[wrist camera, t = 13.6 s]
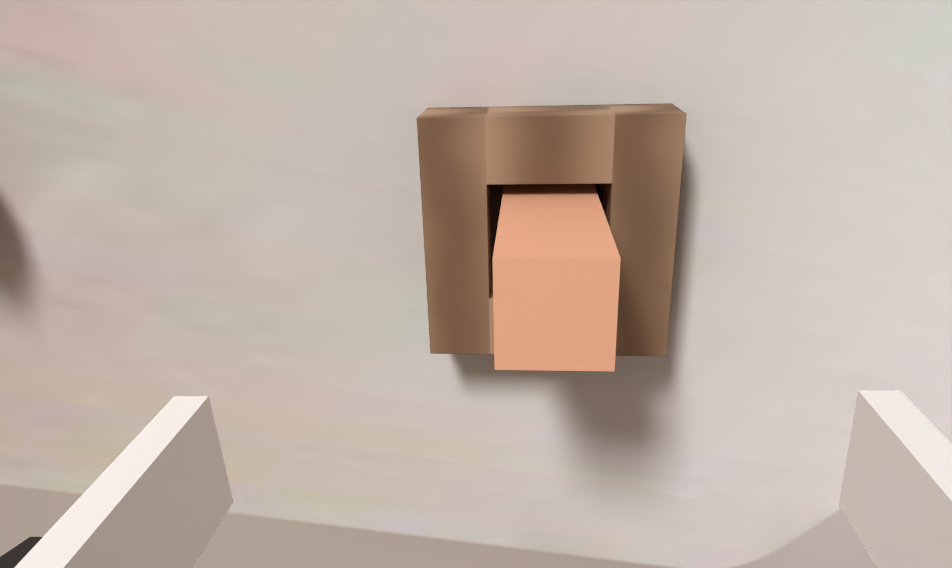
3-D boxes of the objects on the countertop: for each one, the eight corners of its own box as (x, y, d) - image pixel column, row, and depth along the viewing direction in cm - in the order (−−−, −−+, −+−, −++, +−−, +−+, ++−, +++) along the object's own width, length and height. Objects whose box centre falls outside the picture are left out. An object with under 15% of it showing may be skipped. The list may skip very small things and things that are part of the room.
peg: (592, 179, 35) (620, 258, 24) (589, 262, 37) (614, 371, 26) (504, 180, 35) (492, 258, 24) (505, 262, 37) (494, 369, 26)
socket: (671, 103, 33) (686, 113, 30) (654, 326, 38) (665, 356, 35) (427, 108, 34) (416, 118, 31) (438, 324, 39) (430, 353, 36)
